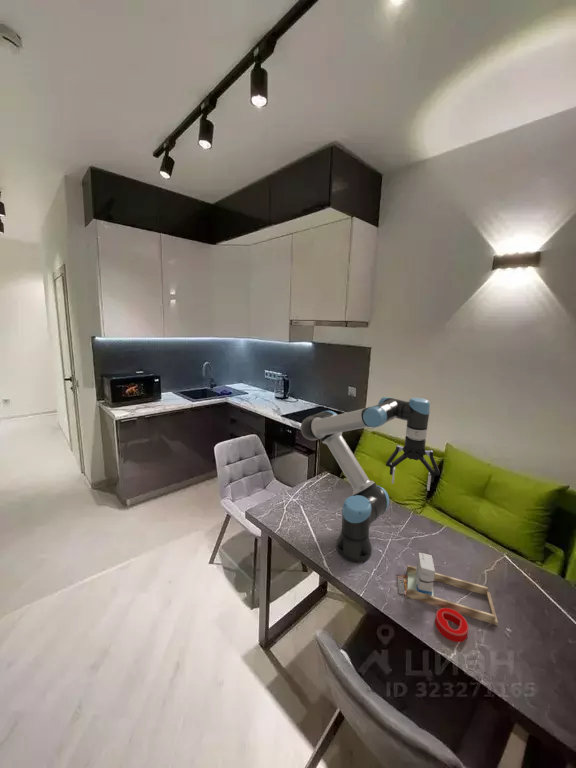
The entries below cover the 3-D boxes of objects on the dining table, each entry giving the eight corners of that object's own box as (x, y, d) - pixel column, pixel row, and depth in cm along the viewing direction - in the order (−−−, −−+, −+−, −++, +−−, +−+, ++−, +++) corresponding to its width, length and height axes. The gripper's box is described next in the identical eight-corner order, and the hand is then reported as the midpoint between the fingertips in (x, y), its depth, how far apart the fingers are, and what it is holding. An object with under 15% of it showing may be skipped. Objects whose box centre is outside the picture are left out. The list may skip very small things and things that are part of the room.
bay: (405, 596, 117) (406, 589, 116) (406, 570, 128) (407, 564, 127) (497, 625, 107) (498, 618, 106) (489, 594, 118) (490, 588, 117)
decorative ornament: (473, 633, 104) (474, 625, 103) (455, 648, 99) (456, 640, 99) (446, 609, 112) (447, 602, 111) (428, 622, 107) (429, 615, 107)
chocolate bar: (411, 600, 116) (411, 599, 115) (396, 597, 117) (397, 595, 117) (408, 576, 126) (408, 575, 126) (395, 574, 127) (395, 572, 127)
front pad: (407, 595, 117) (407, 594, 117) (407, 572, 127) (408, 572, 127) (433, 603, 114) (434, 602, 114) (432, 579, 124) (432, 579, 124)
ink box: (431, 598, 116) (435, 571, 113) (417, 595, 117) (421, 568, 114) (428, 579, 124) (431, 554, 121) (414, 577, 125) (418, 551, 122)
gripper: (382, 435, 126) (377, 483, 131) (451, 446, 117) (444, 496, 122) (383, 429, 133) (379, 474, 138) (449, 438, 124) (442, 487, 129)
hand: (410, 485), depth 130 cm, fingers open, 13 cm apart
